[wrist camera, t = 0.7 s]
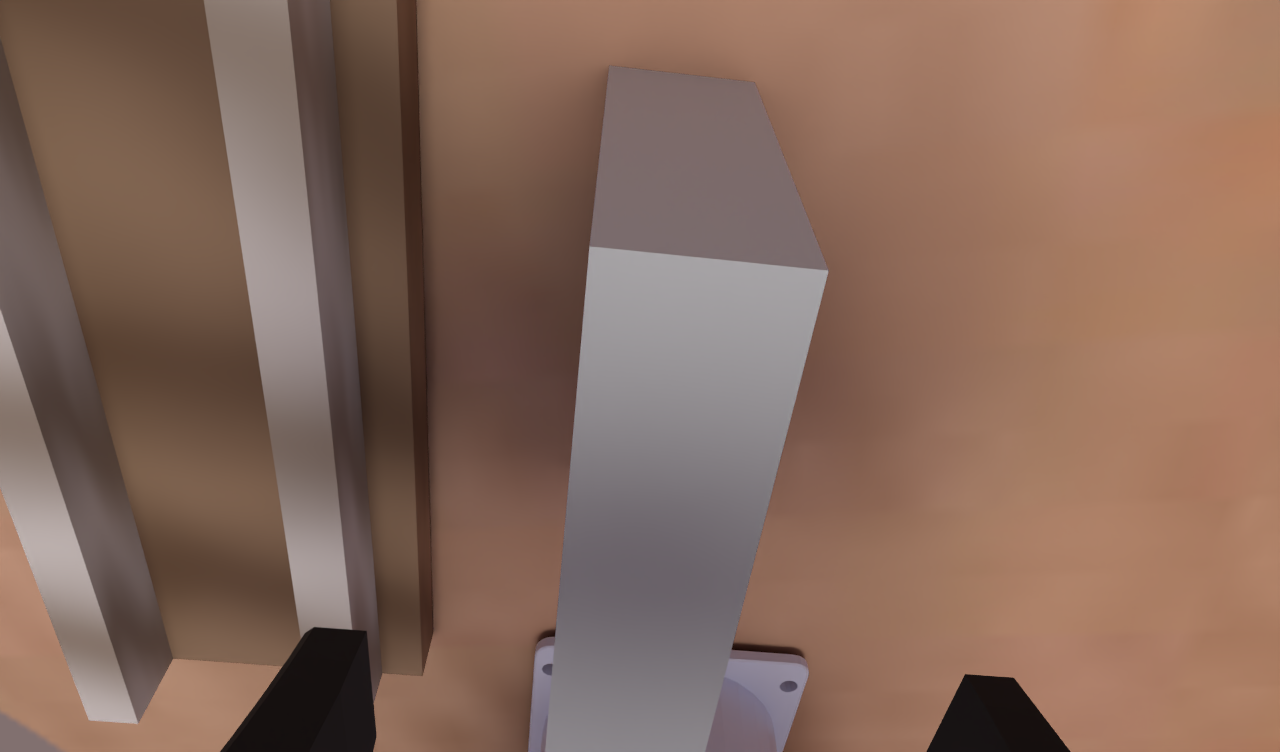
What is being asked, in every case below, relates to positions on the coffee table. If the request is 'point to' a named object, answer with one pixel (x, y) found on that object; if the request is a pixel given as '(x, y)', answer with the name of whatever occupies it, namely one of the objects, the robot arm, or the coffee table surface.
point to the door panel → (676, 406)
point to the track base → (214, 331)
